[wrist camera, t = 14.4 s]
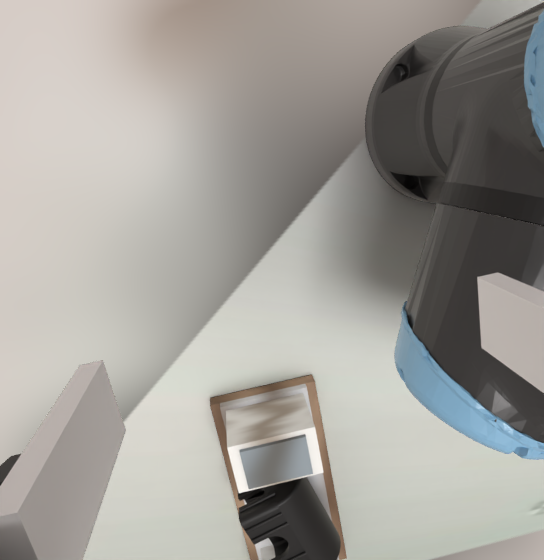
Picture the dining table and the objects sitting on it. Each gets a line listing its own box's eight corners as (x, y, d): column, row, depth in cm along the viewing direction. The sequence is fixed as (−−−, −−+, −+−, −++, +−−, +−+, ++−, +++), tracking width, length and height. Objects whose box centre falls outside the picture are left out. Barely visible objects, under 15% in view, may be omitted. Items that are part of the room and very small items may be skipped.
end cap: (332, 510, 50) (349, 563, 44) (275, 538, 50) (283, 595, 44) (294, 444, 47) (306, 489, 41) (234, 473, 47) (237, 524, 41)
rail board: (311, 374, 48) (331, 420, 40) (343, 547, 55) (365, 618, 46) (210, 397, 47) (209, 449, 39) (255, 570, 54) (262, 645, 46)
